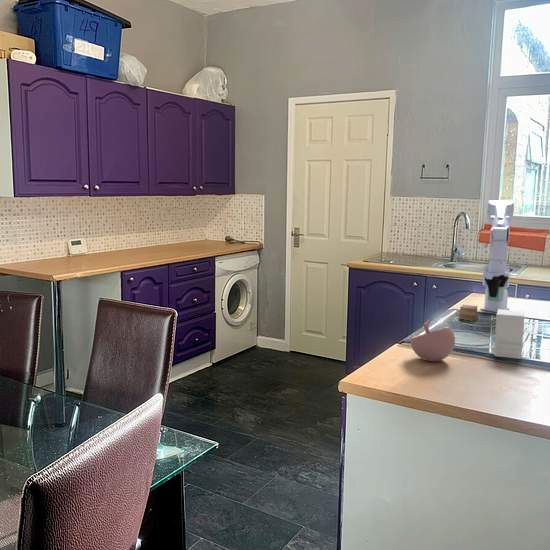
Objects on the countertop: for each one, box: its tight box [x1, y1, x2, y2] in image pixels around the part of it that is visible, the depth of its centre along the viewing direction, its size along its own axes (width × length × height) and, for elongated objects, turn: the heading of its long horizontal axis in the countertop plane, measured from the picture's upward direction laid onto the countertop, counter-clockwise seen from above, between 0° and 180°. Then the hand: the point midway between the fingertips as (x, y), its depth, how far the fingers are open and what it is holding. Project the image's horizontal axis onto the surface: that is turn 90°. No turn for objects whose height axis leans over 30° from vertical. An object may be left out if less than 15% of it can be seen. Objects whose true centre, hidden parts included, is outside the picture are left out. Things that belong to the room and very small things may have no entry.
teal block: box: [488, 287, 504, 302], centre depth 207 cm, size 4×4×5 cm
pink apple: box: [409, 319, 456, 362], centre depth 157 cm, size 12×12×11 cm
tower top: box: [459, 304, 478, 315], centre depth 207 cm, size 5×5×2 cm
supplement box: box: [494, 309, 525, 360], centre depth 163 cm, size 7×7×13 cm
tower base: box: [458, 312, 479, 322], centre depth 207 cm, size 5×5×2 cm
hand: (495, 296), depth 208 cm, fingers closed on teal block, 4 cm apart
